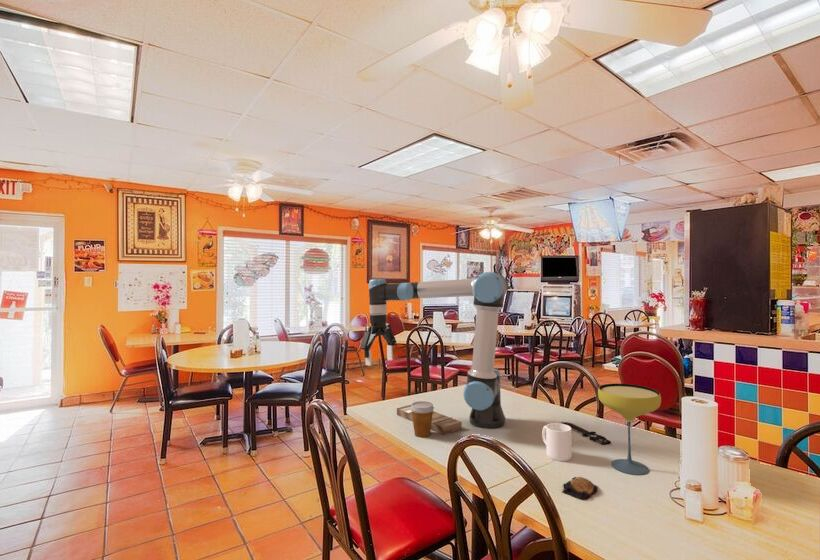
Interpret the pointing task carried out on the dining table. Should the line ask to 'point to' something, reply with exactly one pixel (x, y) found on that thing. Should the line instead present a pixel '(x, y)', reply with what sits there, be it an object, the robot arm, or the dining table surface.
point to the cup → (558, 441)
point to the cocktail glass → (629, 414)
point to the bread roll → (580, 488)
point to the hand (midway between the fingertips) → (379, 362)
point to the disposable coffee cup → (422, 418)
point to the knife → (585, 433)
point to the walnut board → (434, 421)
